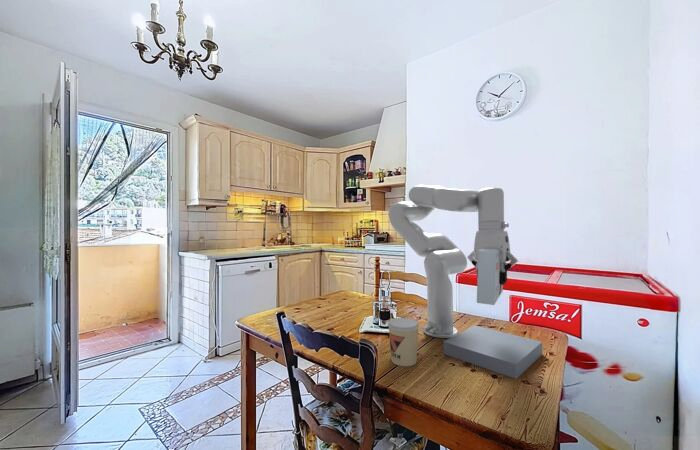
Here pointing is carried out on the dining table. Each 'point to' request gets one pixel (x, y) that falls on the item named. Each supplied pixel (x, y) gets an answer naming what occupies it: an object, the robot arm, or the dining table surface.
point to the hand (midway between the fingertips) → (491, 281)
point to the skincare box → (488, 276)
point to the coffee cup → (403, 341)
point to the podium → (494, 350)
